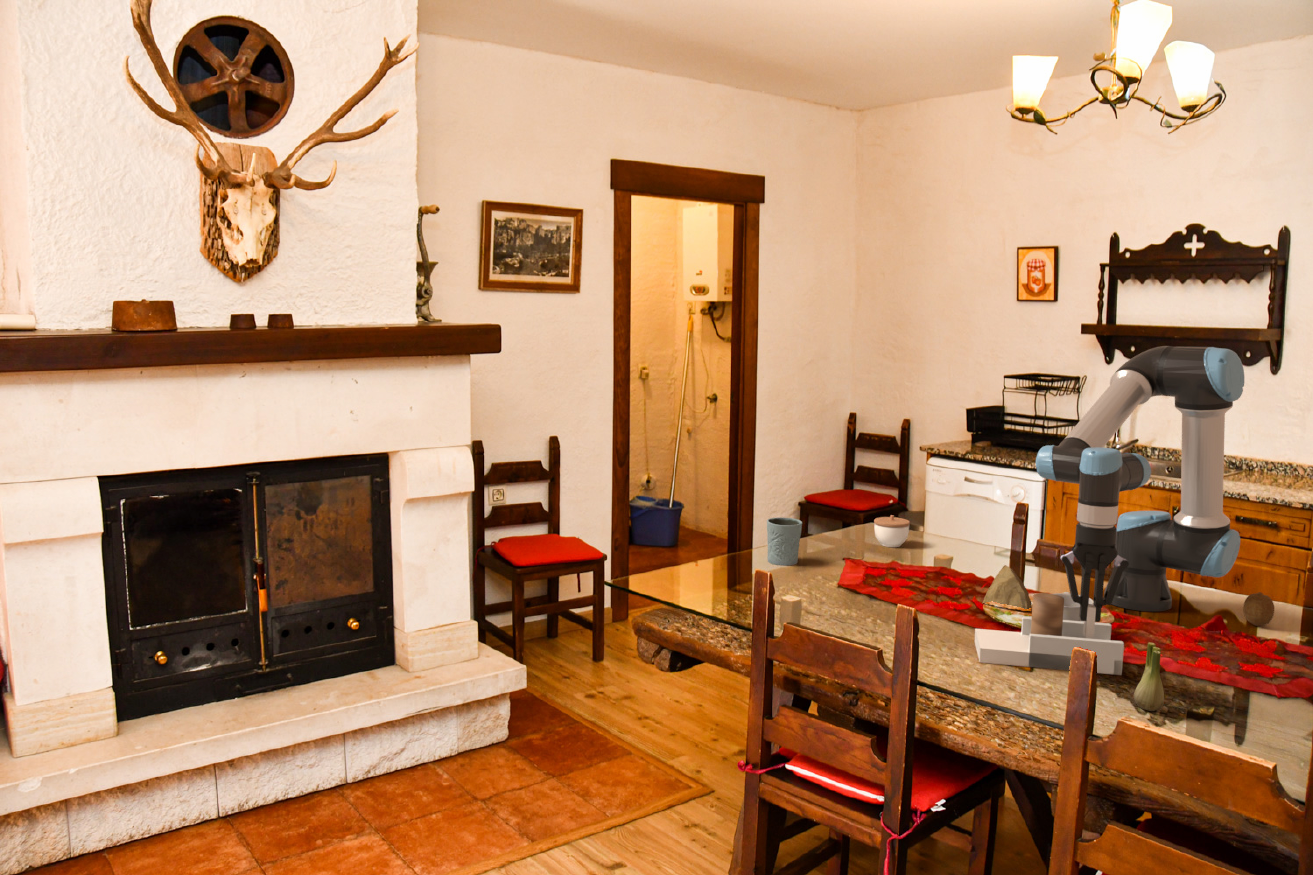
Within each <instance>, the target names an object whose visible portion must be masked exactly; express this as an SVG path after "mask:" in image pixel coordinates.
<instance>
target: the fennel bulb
mask: <svg viewBox="0 0 1313 875" xmlns="http://www.w3.org/2000/svg"><path fill="white" fill-rule="evenodd" d="M1161 651H1162V649H1161V648H1159V647H1157V645H1156V643H1154V642H1147V647H1146V658H1145V667H1144V671H1143V674H1142V676H1141V679H1140V681H1139V682H1138V684H1137V686H1136V688H1135V690H1134V693H1133V699H1134V702H1135V703H1136V705H1137V707H1139V708H1140V709H1142V710H1145V711H1150V712H1155V711H1161V709H1162V708H1163V706H1164V702H1165V692H1164V687H1163V683H1162V679H1161V676H1160V668H1161V667H1160V666H1161V655H1162V652H1161Z"/></svg>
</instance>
